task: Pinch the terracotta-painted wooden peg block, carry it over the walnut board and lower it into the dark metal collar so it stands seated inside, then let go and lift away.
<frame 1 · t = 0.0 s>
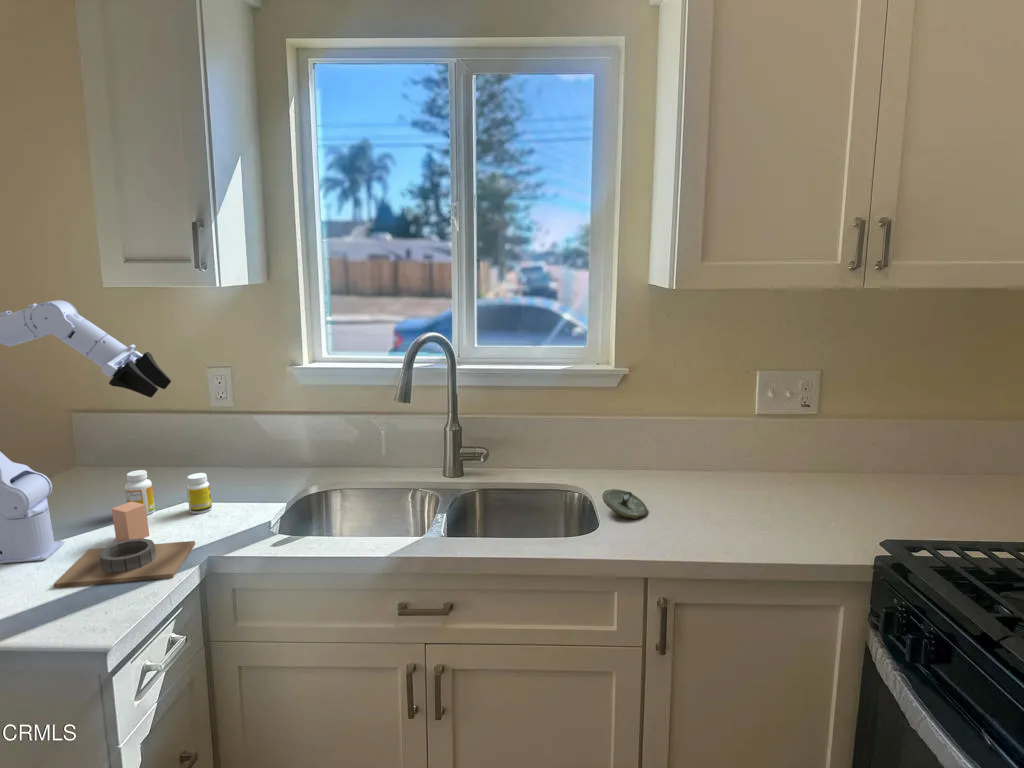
hand: (161, 389, 132), 32 cm above the worktop, tool tilted 50°, fingers open, 7 cm apart
supplement bottle 2: (201, 511, 155), on the worktop
collar board: (129, 564, 129), on the worktop
supplement bottle: (142, 513, 154), on the worktop
peg block: (132, 538, 141), on the worktop
lid: (624, 512, 150), on the worktop
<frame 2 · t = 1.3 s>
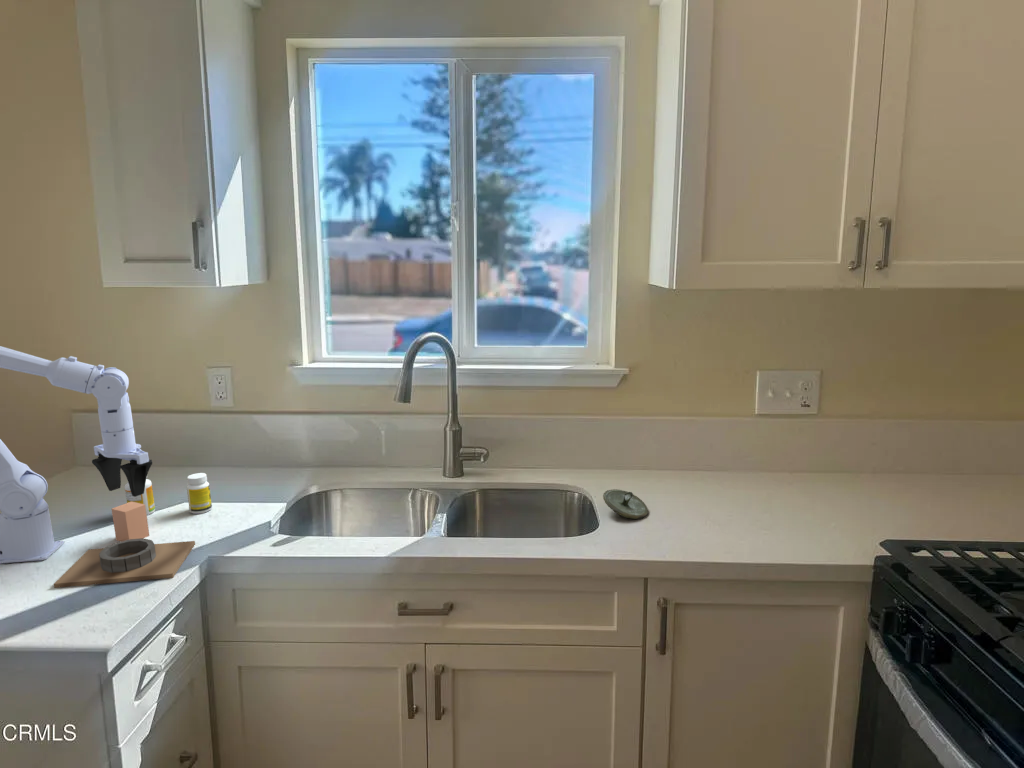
hand: (126, 492, 139), 10 cm above the worktop, tool pointing down, fingers open, 7 cm apart
nothing on the worktop moved.
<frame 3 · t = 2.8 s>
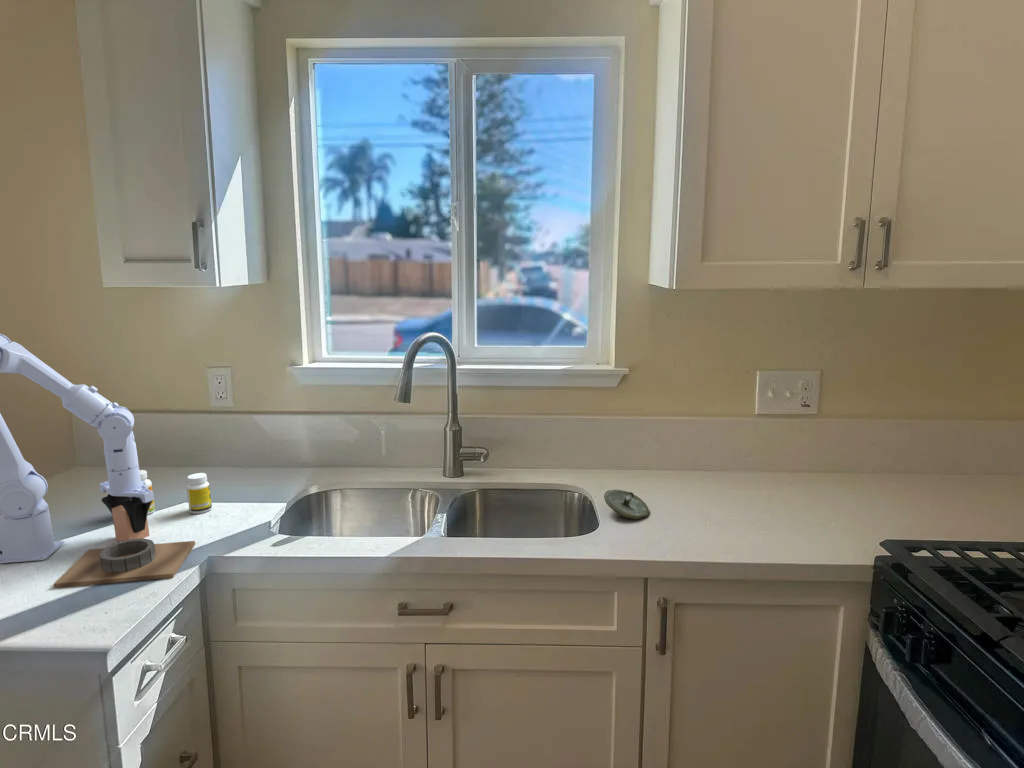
hand: (131, 528, 140), 2 cm above the worktop, tool pointing down, fingers closed on peg block, 4 cm apart
peg block: (132, 537, 141), on the worktop, touching gripper
everything else where it was.
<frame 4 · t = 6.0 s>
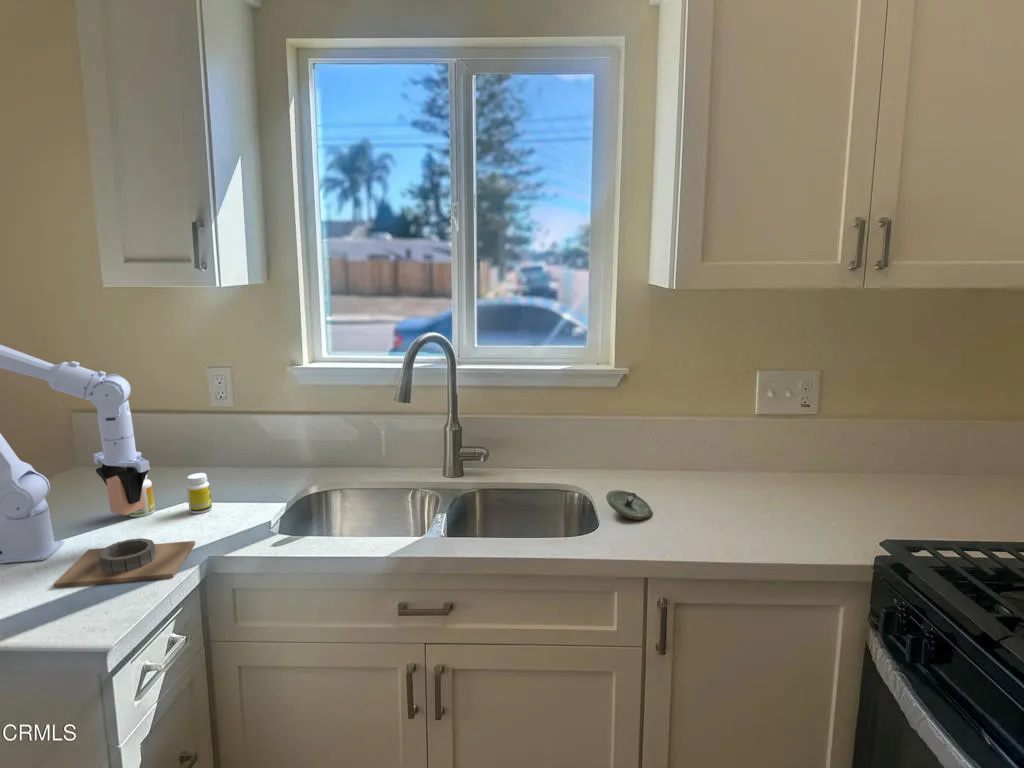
hand: (126, 500, 137), 9 cm above the worktop, tool pointing down, fingers closed on peg block, 4 cm apart
peg block: (128, 509, 138), point 7 cm above the worktop, touching gripper
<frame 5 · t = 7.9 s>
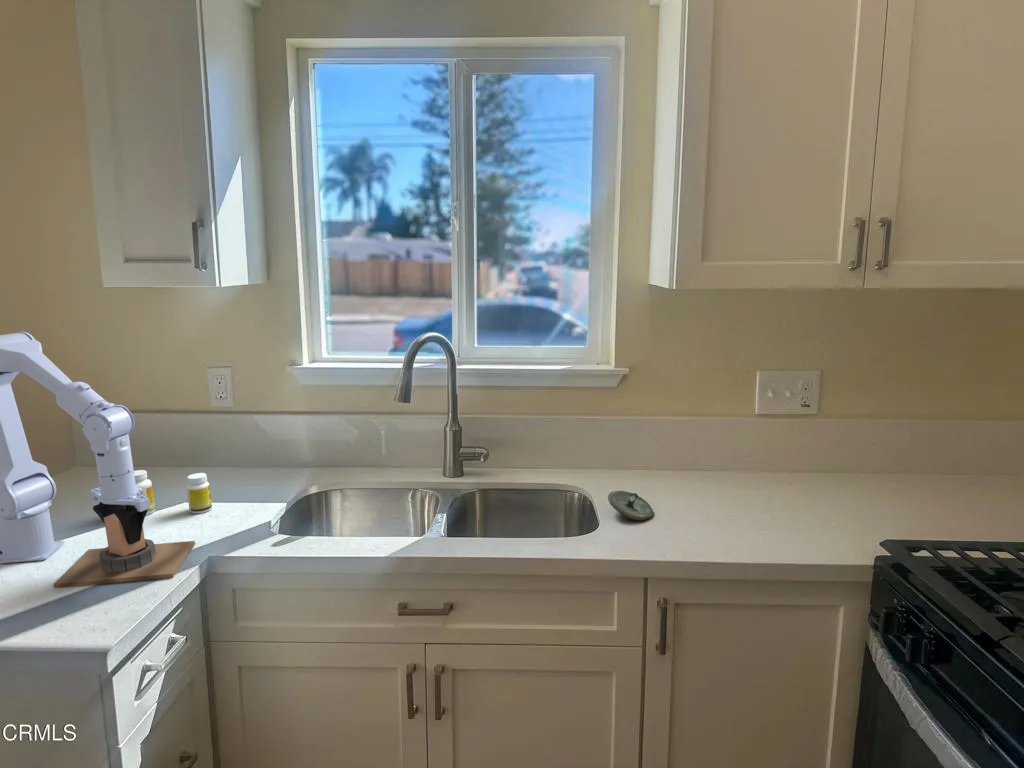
hand: (125, 539, 128), 5 cm above the worktop, tool pointing down, fingers closed on peg block, 4 cm apart
peg block: (127, 549, 128), point 3 cm above the worktop, touching gripper
when the fingers open (4 cm above the worktop, at t = 9.4 s): peg block stays where it is, resting on collar board.
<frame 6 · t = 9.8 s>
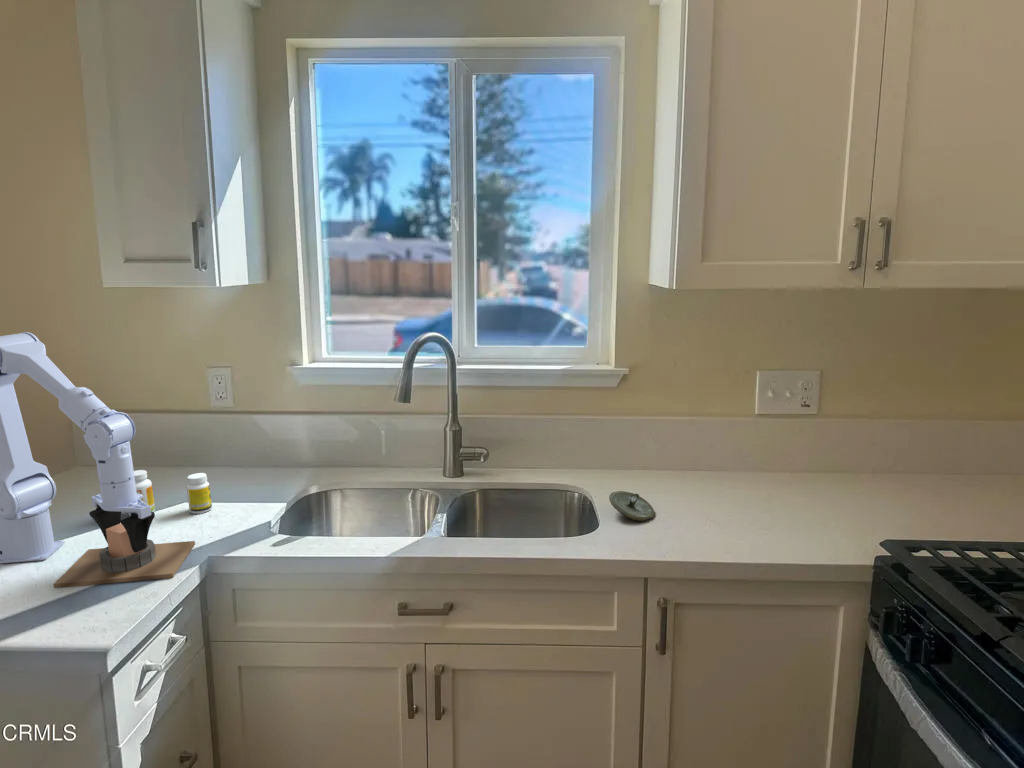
hand: (126, 546, 128), 4 cm above the worktop, tool pointing down, fingers open, 7 cm apart
peg block: (129, 560, 129), point 1 cm above the worktop, touching collar board
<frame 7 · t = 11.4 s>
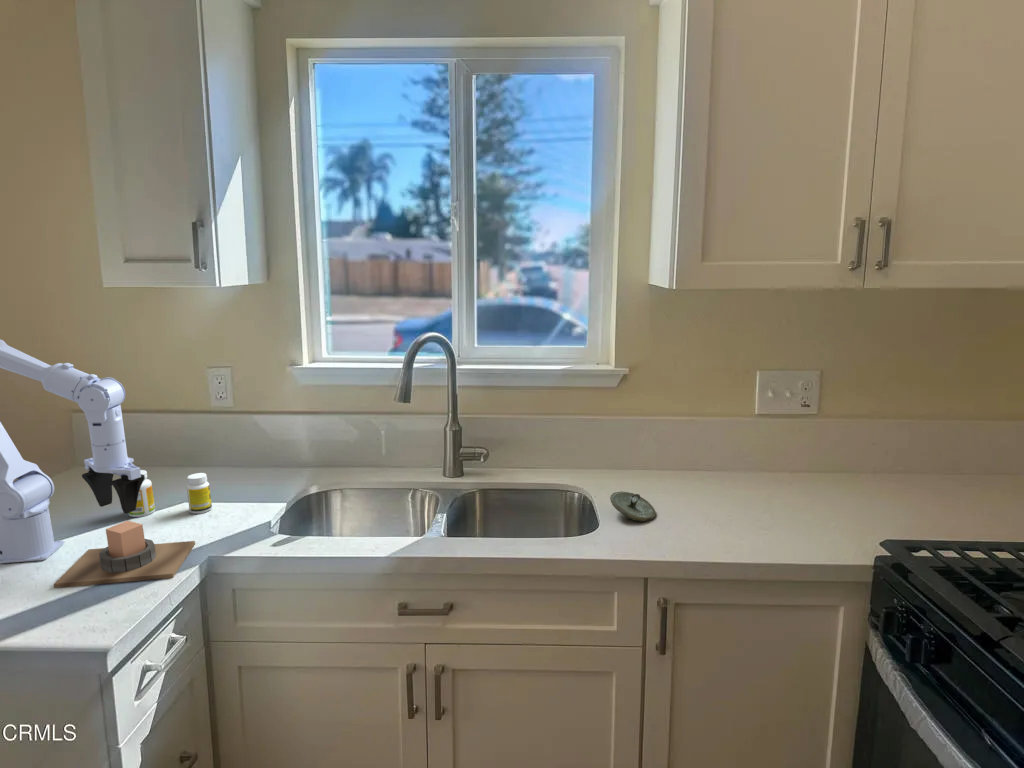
hand: (117, 508, 132), 9 cm above the worktop, tool pointing down, fingers open, 7 cm apart
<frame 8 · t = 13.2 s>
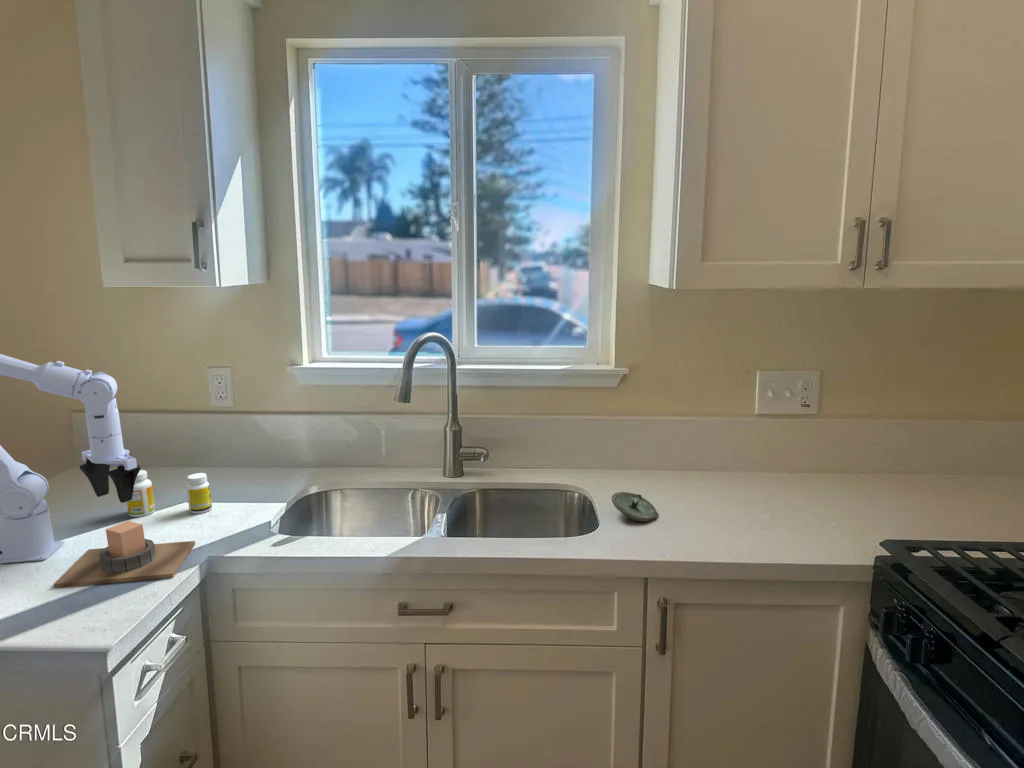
hand: (114, 498, 137), 9 cm above the worktop, tool pointing down, fingers open, 7 cm apart
at the end: peg block 0.0 cm off-centre on the collar board, point 0.8 cm above the collar board's base; peg block tilted 0°; the gripper is holding nothing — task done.
